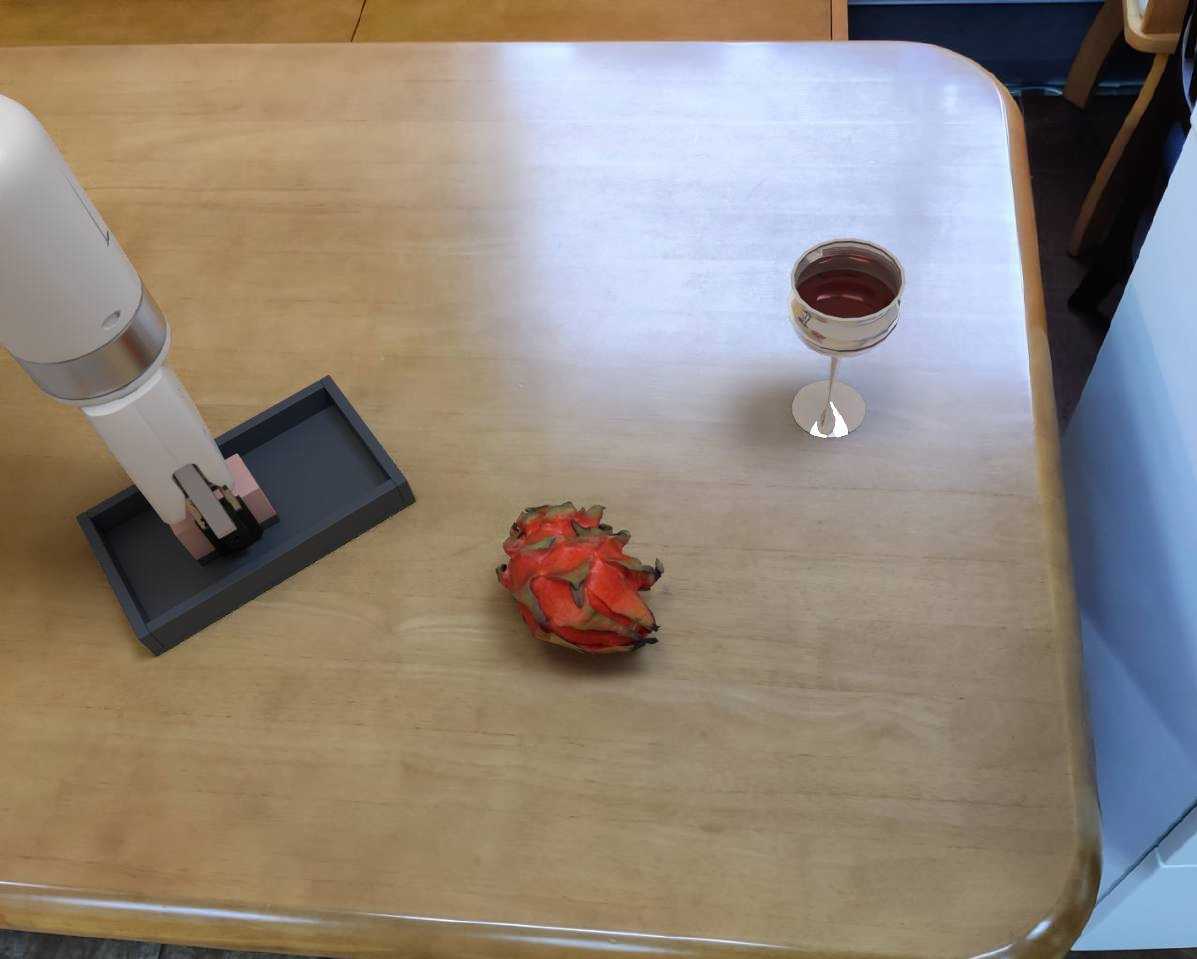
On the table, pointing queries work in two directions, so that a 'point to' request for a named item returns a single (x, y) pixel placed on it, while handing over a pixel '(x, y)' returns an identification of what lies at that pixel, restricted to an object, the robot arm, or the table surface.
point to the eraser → (243, 488)
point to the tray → (302, 536)
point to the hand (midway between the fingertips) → (228, 520)
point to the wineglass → (841, 322)
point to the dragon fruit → (578, 580)
